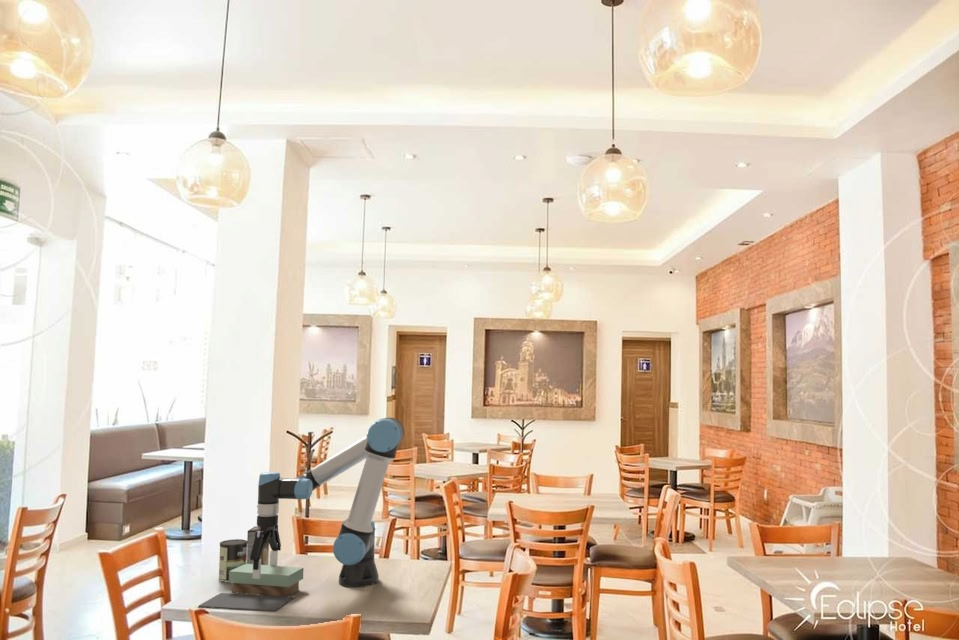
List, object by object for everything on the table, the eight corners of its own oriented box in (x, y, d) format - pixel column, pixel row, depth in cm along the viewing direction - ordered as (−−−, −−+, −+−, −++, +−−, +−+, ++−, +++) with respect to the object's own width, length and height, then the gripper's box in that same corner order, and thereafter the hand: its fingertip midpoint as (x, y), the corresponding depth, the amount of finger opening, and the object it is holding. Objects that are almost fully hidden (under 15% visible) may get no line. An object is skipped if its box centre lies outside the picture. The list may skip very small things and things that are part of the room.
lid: (303, 578, 258) (303, 567, 258) (288, 587, 247) (288, 575, 248) (245, 574, 264) (246, 563, 264) (228, 582, 253) (229, 571, 253)
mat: (294, 598, 247) (294, 596, 247) (275, 611, 232) (275, 610, 232) (220, 594, 251) (220, 592, 251) (197, 607, 236) (198, 605, 236)
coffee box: (253, 564, 292) (254, 525, 293) (268, 565, 292) (269, 526, 293) (245, 570, 283) (247, 530, 284) (261, 570, 283) (262, 530, 284)
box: (298, 590, 257) (299, 571, 257) (286, 597, 248) (286, 577, 249) (245, 586, 262) (246, 567, 263) (231, 593, 253) (232, 573, 254)
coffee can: (251, 576, 275) (252, 539, 276) (237, 583, 265) (238, 545, 266) (227, 574, 277) (229, 538, 278) (212, 581, 267) (214, 544, 268)
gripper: (273, 508, 271) (270, 564, 269) (241, 520, 246) (238, 582, 244) (291, 509, 269) (288, 565, 267) (261, 521, 245) (258, 583, 243)
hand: (265, 573), depth 256 cm, fingers open, 13 cm apart
